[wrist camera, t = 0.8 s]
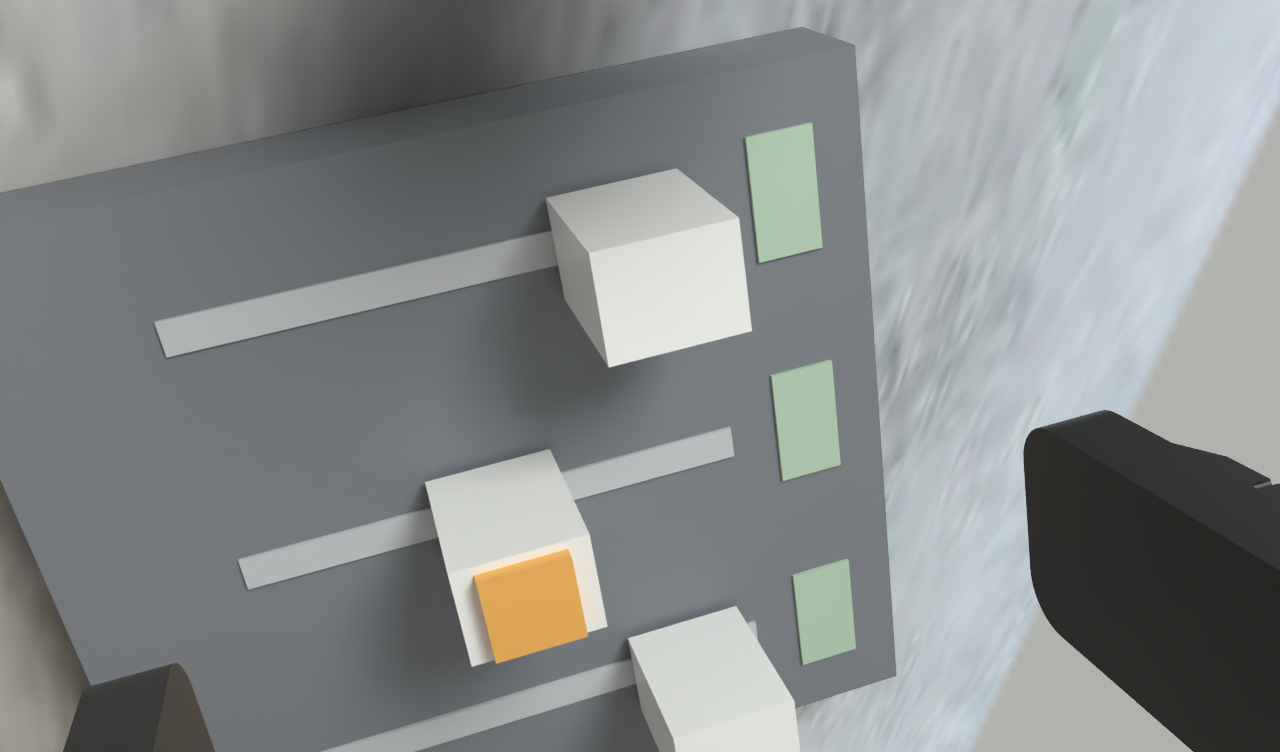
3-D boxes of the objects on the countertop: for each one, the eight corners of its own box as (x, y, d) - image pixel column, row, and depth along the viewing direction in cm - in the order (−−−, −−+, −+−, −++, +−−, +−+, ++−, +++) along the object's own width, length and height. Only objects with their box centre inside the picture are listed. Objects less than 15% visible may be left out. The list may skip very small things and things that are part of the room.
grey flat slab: (-65, 206, 26) (-104, 248, 23) (802, 27, 30) (856, 45, 27) (192, 819, 34) (185, 905, 31) (852, 617, 37) (897, 678, 35)
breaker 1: (545, 198, 26) (588, 253, 23) (676, 168, 27) (739, 217, 23) (564, 299, 27) (608, 367, 24) (690, 269, 28) (752, 331, 24)
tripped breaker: (424, 482, 28) (450, 584, 24) (549, 448, 29) (593, 543, 25) (447, 566, 29) (474, 678, 25) (567, 533, 30) (612, 637, 26)
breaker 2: (628, 638, 31) (673, 738, 28) (736, 605, 32) (794, 700, 28) (641, 709, 32) (686, 815, 29) (745, 676, 33) (802, 776, 29)
